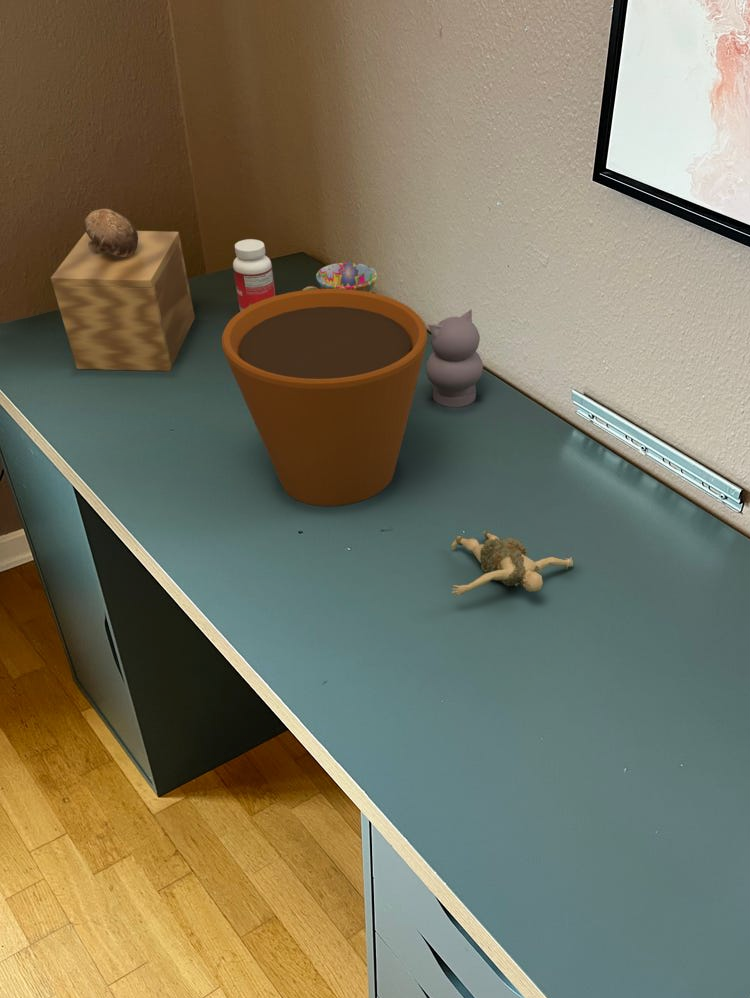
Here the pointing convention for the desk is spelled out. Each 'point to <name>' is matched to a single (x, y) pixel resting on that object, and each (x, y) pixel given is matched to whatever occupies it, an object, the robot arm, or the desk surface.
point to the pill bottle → (252, 273)
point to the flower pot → (328, 387)
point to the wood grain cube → (126, 304)
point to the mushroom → (110, 233)
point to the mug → (346, 277)
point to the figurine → (506, 563)
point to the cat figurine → (454, 361)
